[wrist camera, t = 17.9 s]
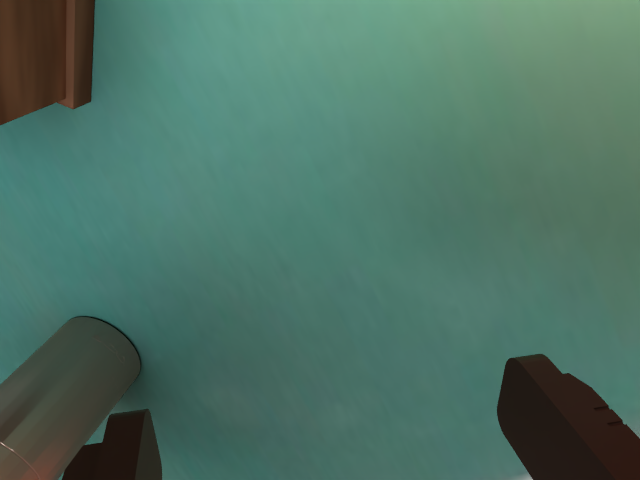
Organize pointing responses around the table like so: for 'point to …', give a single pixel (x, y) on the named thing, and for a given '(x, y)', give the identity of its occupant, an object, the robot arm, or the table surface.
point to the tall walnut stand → (44, 55)
